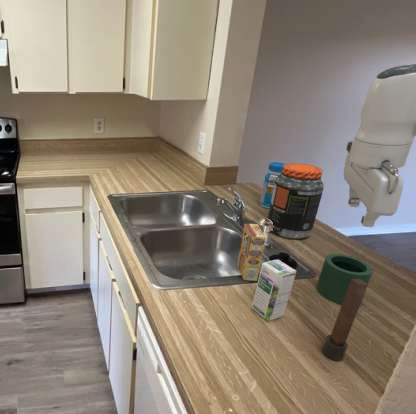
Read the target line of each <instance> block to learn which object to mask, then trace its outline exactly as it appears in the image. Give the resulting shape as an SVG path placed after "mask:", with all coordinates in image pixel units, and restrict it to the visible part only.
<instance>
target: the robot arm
mask: <svg viewBox="0 0 416 414" xmlns="http://www.w3.org/2000/svg"><path fill="white" fill-rule="evenodd" d="M359 125H360V126H359V128H358V129H357V132H356V133H355V135H354V139H353V140H349V141H347V143H346V147H345V150H346V151H347V154H346V156H345V157H346V158H345V162H344V168H343V179H344V181H345V182H346V183H347V184H348V186H349V187H348V201H347V204H348V205H349V207H353V208H358V207H359V206H360V203H362V204H363V205H364V206H365V210H366V212H365V215H362V217H361V220H360V224H361V225H362V226H363V227H365V228H372V227H374V226H375V223H376V220H377V219H379V217H383V216H385V217H391V216H393V215H395V214H396V213H397V210H398V208H399V205H400V201H401V197H402V194H403V189H404V178H403V176H401V175H400V174H399V169H400V168H403V167H405V165H406V164H407V163H406V162H407V159H408V158H409V157H408V156H409V154H410V151H411V148H412V145H413V142H414V139H415V137H416V63H414V64H413V63H412V64H405V65H403V64H402V65H399V66H394V67H390V68H387V69H385V70H383V71H381V72H380V73H378V74H377V75H376V76H375V78H374V79H373V81H372V83H371V84H370V86H369V89H368V91H367V93H366V96H365V99H364V102H363V105H362V110H361V113H360V124H359Z"/></svg>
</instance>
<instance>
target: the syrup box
mask: <svg viewBox="0 0 416 414" xmlns="http://www.w3.org/2000/svg"><path fill="white" fill-rule="evenodd" d="M296 275H297V270H296V269H295V268H293V267H291V266H289V265H288V264H286V263H285V262H282V261H281V260H280V259H273V260H268V261H265V262H263V263H261V266H260V270H259V274H258V279H257V284H256V288H255V293H254V297H253V301H252V305H251V309H252V310H253V311H255V312H256V313H257V314H258V315H259V316H260V317H262V318H263V319H264V320H265V321H266V322H270V321H273V320H277V319H280V318H282V317H284V316H285V313H286V310H287V305H288V302H289V299H290V295H291V292H292V288H293V285H294V282H295V278H296Z"/></svg>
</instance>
